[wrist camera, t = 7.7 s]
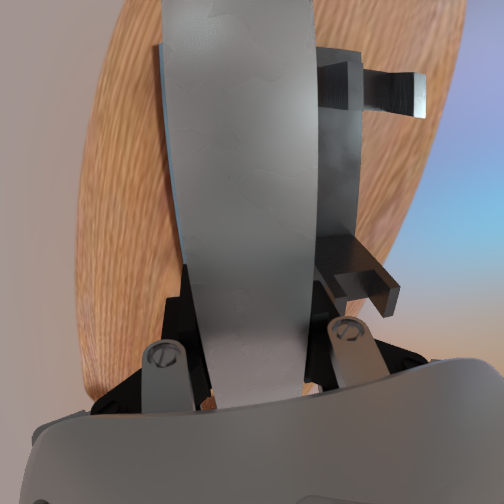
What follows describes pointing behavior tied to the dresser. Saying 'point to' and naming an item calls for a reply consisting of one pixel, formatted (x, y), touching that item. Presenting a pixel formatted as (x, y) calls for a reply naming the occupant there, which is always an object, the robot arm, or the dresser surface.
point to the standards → (352, 172)
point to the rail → (246, 184)
